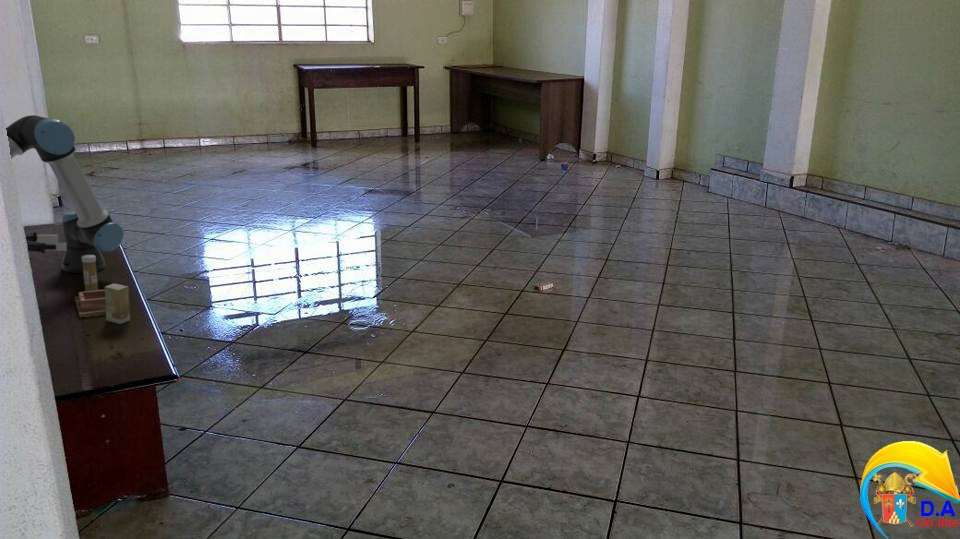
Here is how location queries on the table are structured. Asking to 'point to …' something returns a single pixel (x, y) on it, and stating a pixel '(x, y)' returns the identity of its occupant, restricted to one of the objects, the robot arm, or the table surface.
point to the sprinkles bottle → (90, 272)
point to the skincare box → (117, 303)
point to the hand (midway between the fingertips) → (62, 242)
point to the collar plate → (91, 303)
